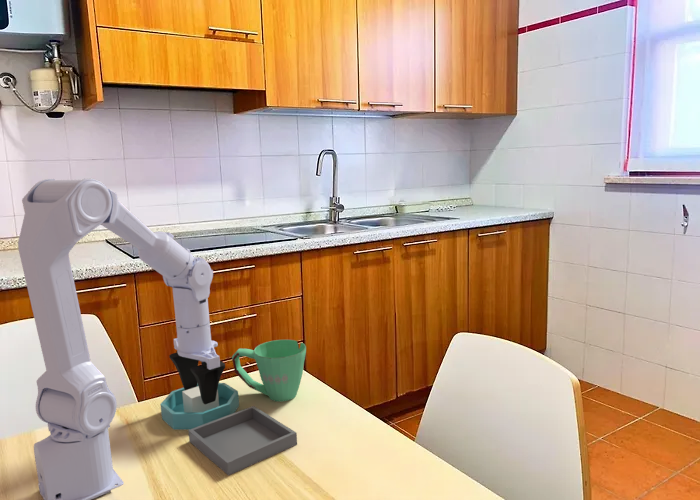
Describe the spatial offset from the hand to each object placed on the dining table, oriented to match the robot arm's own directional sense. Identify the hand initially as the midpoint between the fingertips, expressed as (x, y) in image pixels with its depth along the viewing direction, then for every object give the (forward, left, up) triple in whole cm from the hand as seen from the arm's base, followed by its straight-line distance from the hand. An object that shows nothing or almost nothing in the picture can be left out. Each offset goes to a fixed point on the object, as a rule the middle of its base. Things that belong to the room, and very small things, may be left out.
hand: (199, 395), depth 99 cm
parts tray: (0, -15, -4) cm, 15 cm away
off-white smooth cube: (0, 0, -3) cm, 3 cm away
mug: (+13, -3, -4) cm, 14 cm away
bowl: (0, 0, -4) cm, 4 cm away
